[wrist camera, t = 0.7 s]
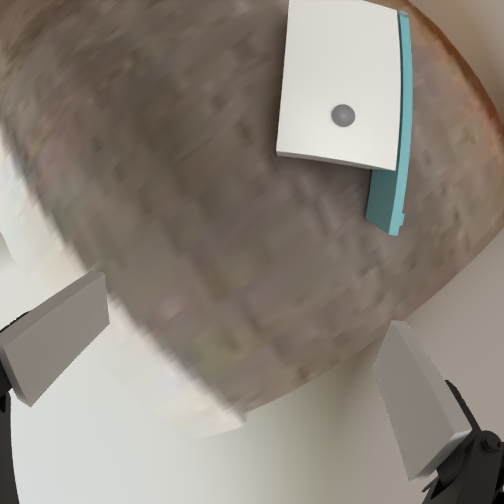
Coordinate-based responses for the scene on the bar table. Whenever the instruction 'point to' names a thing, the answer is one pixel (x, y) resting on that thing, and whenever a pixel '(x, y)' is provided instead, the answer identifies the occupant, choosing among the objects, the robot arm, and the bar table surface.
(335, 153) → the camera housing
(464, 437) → the robot arm
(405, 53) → the side door
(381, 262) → the bar table surface
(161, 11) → the bar table surface
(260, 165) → the bar table surface
